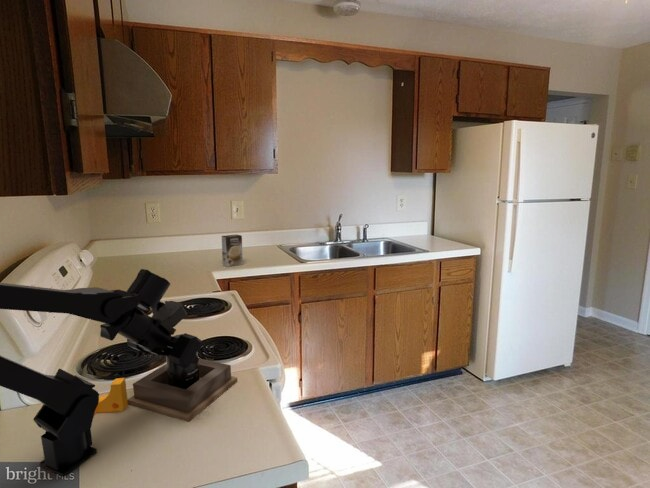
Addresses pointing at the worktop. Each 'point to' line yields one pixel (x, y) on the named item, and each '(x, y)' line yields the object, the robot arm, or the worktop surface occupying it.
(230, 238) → the coffee box
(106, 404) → the orange notched part
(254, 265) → the worktop surface
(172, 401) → the grey-brown square frame
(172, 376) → the supplement bottle
